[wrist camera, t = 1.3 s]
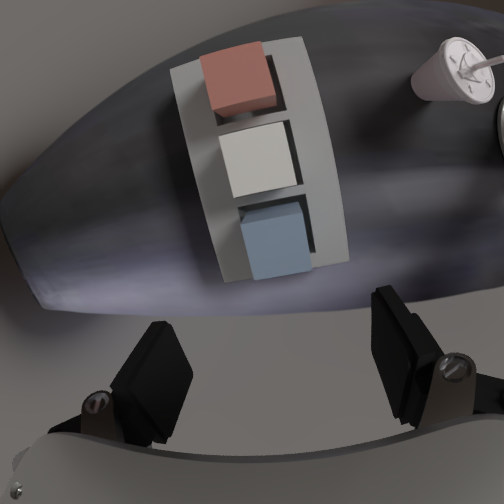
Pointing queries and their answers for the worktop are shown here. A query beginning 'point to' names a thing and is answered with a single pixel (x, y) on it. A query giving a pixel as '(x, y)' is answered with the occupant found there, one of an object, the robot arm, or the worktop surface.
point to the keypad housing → (301, 150)
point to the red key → (238, 80)
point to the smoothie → (456, 74)
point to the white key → (258, 159)
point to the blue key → (276, 241)
